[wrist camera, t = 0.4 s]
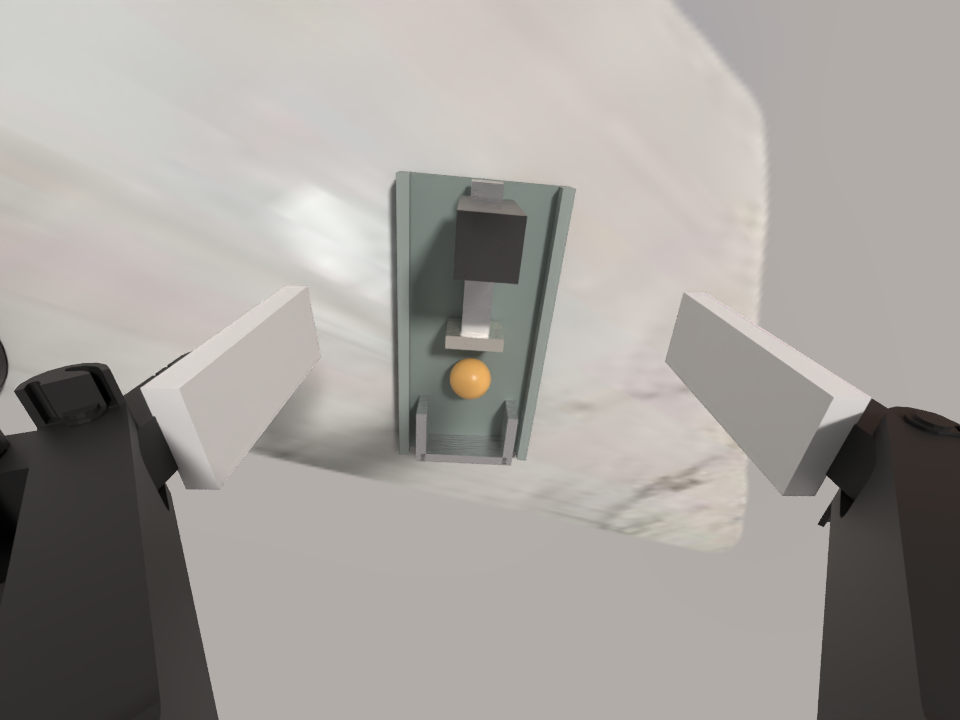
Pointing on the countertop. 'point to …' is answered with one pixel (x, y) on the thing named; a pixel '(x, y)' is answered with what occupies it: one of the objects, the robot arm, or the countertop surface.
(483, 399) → the grey-green channel tray
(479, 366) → the ball
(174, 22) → the countertop surface
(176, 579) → the robot arm
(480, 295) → the block
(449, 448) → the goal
